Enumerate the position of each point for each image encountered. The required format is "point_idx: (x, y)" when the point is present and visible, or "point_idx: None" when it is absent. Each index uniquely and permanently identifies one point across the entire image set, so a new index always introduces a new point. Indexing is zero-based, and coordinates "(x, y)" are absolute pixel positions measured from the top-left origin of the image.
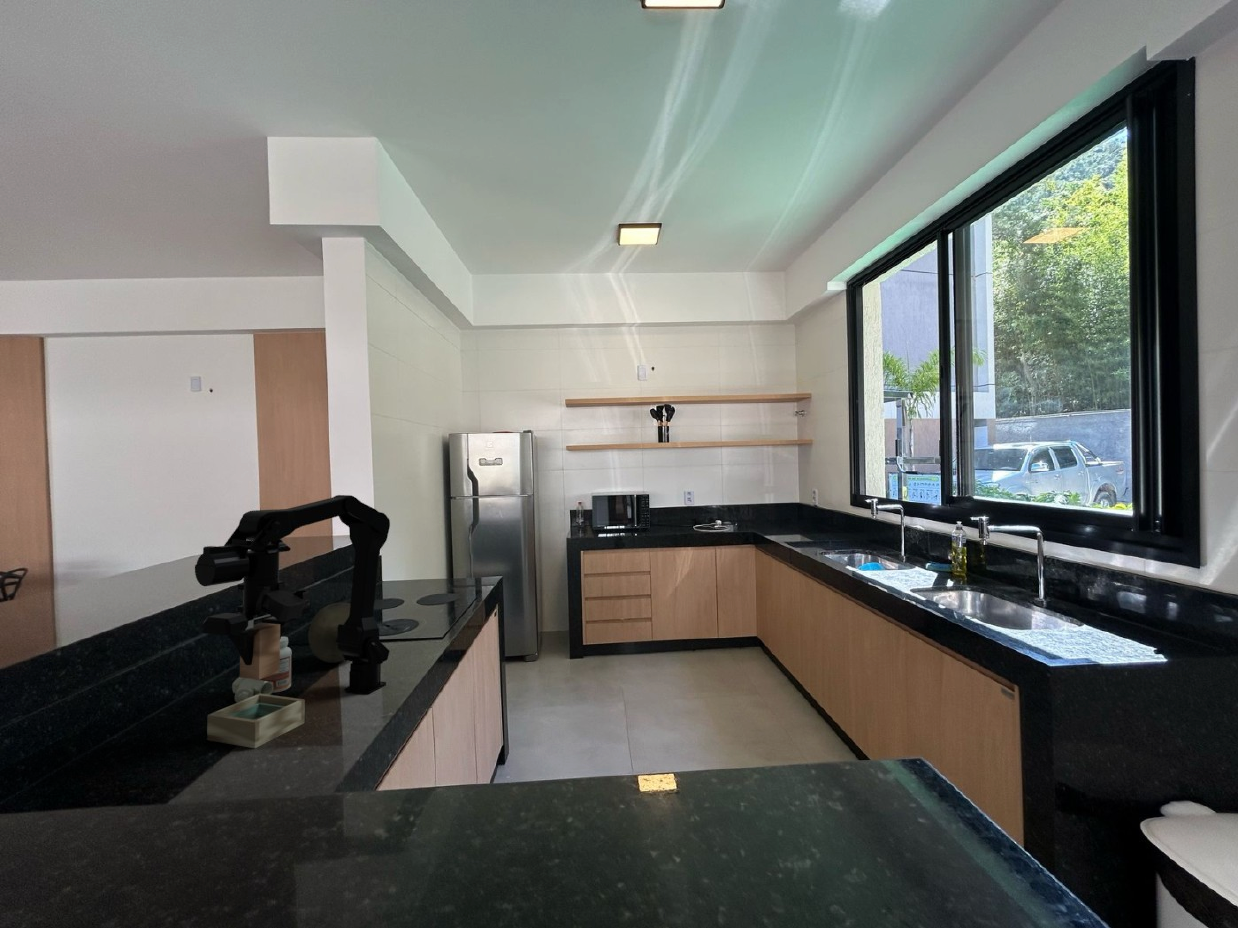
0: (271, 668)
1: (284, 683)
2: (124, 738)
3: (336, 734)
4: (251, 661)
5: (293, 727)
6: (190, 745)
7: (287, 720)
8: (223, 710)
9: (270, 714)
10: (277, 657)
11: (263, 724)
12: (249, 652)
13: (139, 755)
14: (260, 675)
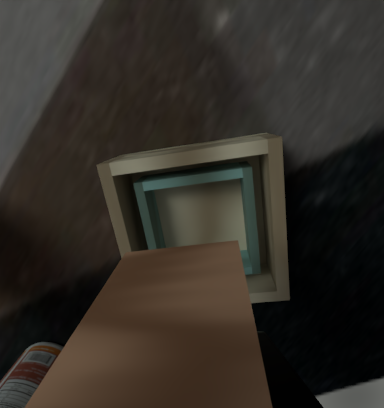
0: (164, 263)
1: (38, 353)
2: (321, 388)
3: (119, 4)
4: (259, 343)
5: (153, 150)
6: (304, 270)
7: (167, 150)
8: (252, 293)
9: (219, 153)
10: (110, 298)
11: (248, 140)
12: (312, 404)
13: (367, 310)
14: (231, 249)
